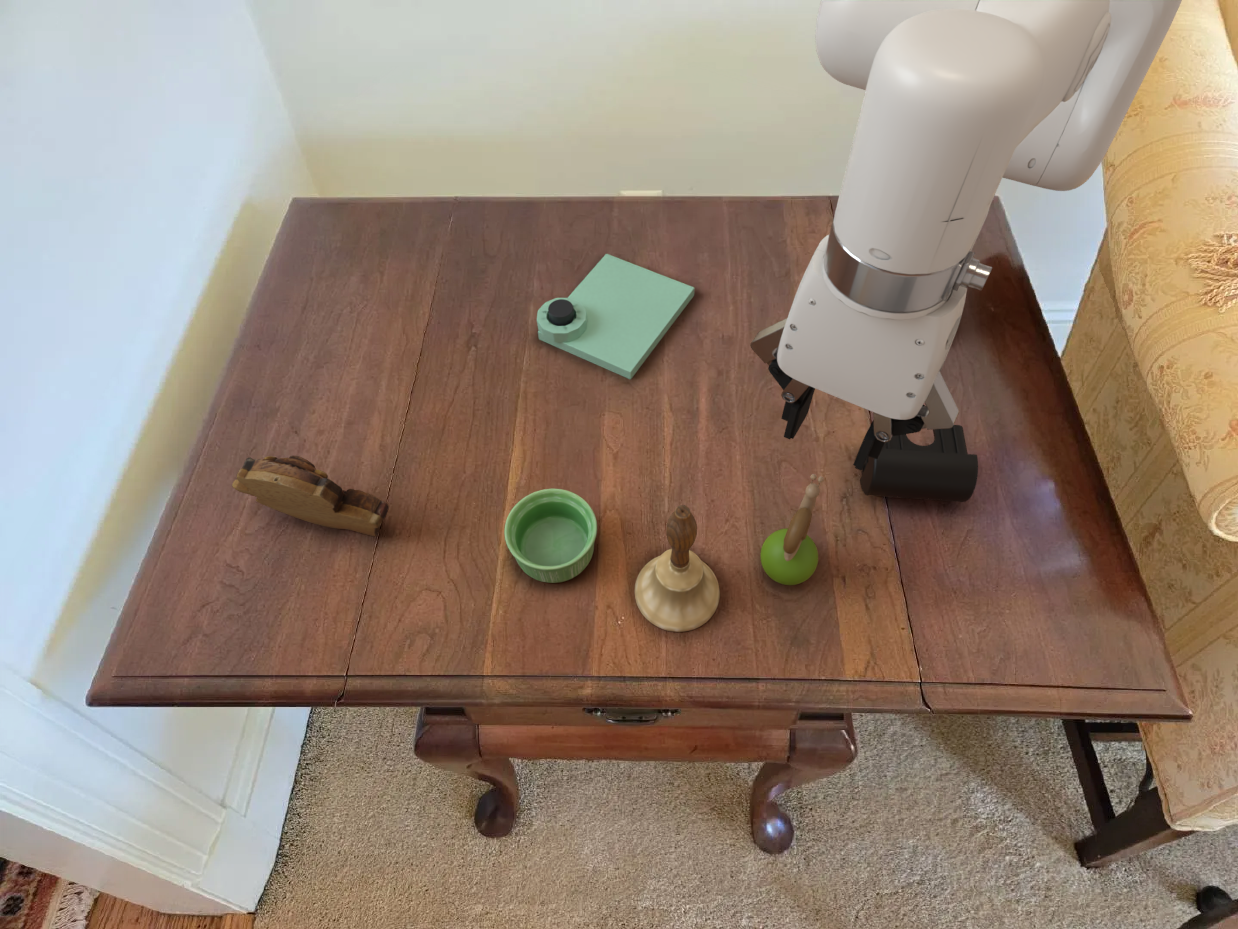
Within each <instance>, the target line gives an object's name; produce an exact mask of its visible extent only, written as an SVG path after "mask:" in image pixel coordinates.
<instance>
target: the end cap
mask: <svg viewBox="0 0 1238 929" xmlns="http://www.w3.org/2000/svg"><path fill="white" fill-rule="evenodd" d="M932 433H933V442H932V443H930V444H927V445H922V444H921V445H919V444H917V443H915V442H913V441H911V439H909V437H908V434H903V435H897V436H892V438H891V440H890V441H889V442H886V443H885V445H884V447H883V449H882V451H881V453H880V455H879V457H878V459H874V458H872V457H870V456H868V458H867V460H866V462H865V464H864V466H863V468H862V470H861V476H860V479H859V483H860V488H861V491H862V493H863V494H864V495H865V496H868V497H869V496H870V497H884V498H897V499H898V498H899V499H910V500H911V499H913V500H927V501H928V500H929V501H942V502H956V503H963V502H964V503H965V502H967V501H969V500H970V499H971V497H972V496H973V494H974V492H975V489H976V486H977V482H978V477H979V459H978V455H977V454H975V453H973V454H971V453H968V449H967V442H966V437H965V432H964V427H963V426H962V425H960V424H954V425H953V427H952V428H948V429H932Z"/></svg>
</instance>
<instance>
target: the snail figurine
mask: <svg viewBox="0 0 1238 929" xmlns="http://www.w3.org/2000/svg"><path fill="white" fill-rule="evenodd" d="M809 478H810V479H811V482H810V483H809V484H808V485H807V486H806V487H805V490H804V495H803V497H802V499H801V501H800V504H799V508H798V510H797V511H796V513H794V514H793V516H792V517H791V519H790V522H789V525H788V527H786V528H781V529H778V530H775V531H774V532H772V533H770V534H769V535H768V536H767V537H766V539H765V540H764V541H763V544H762V546H761V549H760V564H761V566H762V567H761V568H762V569H763V571H764V572H765V573H766V575H767V576H768V577H769V578H770V579H771V580H773V581H774V582H776V583H778V584H781V585H785V586H796V585H799V584H803V583H804V582H806V581H807V580H809V579H810V578H811V577H812V576H813V574H814V573H815V571H816V570H817V567H818V563H819V551H818V548H817V545H816V543H815V542H814V540H813V539H812V538H811V537H810V536H809V535H808V532H809V529H810V526H811V523H812V518H813V512H814V509H815V508H816V503H817V500H818V499H817V498H818V497H819V495H820V494H821V489H820V486H821V485H820V484H821V483H823V482H824V481H825V478H824V477H823V476H818V477H817V474H814V473H812V474H811V475H810V476H809ZM815 480H817V482H818V484H817V483H814V481H815Z"/></svg>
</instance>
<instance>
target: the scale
mask: <svg viewBox="0 0 1238 929" xmlns="http://www.w3.org/2000/svg"><path fill="white" fill-rule="evenodd" d="M694 297H695V287H694V286H692V285H690V284H686V283H683V282H682V281H679V280H676V279H673V278H670V277H669V276H665V275H663V274H661V273H659V272H655V271H652V270H650V269H648V268H646V267H643V266H639V265H637V264H635V263H632V262H629V261H627V260H624V259H622V258H619V257H616V256H613V255H611V254H609V253H605V254H604V256H602V258H601V259H600V260H599V261H598V262H597V263H596V265H595V266H594V267H593V268H592V269H591V270H590V271H589V272H588V274H587V275H586V276H585V277H584V278H583V280H582V281H581V282H580V283H579V284H578V285H577V286H576V287H575V288H574V290H573V291H572V292H571V293H570V294H569V295H568V296H567V297H555V298H553V299H550V300H547V301H545V302H544V303H543V304H542V305H541V306H540V308H538V310H537V312H536V324H537V330H538V331H537V335H538V336H537V337H538V340H539V341H541V342H544V343H546V344H549V345H551V346H553V347H555V348H557V349H560V350H562V351H564V352H567V353H569V354H572V355H574V356H576V357H578V358H580V359H583V360H584V361H588V362H590V363H591V364H594V365H596V366H597V367H601V368H603V369H605V370H607V371H610V372H613V373H614V374H616V375H619V376H621V377H623V378H625V379H628V380H632V379H633V377H634V376H635V375H636V374H637V372H638V371H639V369H640V368H641V366H643V364H644V363H645V362H646V360H647V359H648V357H649V356H650V355H651V353H653V351H654V349H655V348H656V347H657V346H658V344H659V343H660V341H661V340H662V339H663V338H664V337H665V335H666V334H667V333H668V331H669V329H671V326H673V324H674V323H675V321H676V320H677V319H678V317H679V316H680V315H681V314H682V312H683V311H684V310H685V308H686V307H687V305H689V303H690V302H691V300H692V299H693V298H694ZM559 299H564V300H568V301H569V302H571V303H572V305H573V308H574V319H573V321H572V322H571V323H570V324H568V325H566V326H557V325H554V324H553V323H552V322H551V321H550V319H549V312H548V307H549V305H550V304H551V303H552V302H553V301H555V300H559Z"/></svg>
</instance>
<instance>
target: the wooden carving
mask: <svg viewBox="0 0 1238 929" xmlns="http://www.w3.org/2000/svg"><path fill="white" fill-rule="evenodd" d="M231 487H232V488H233V489H234V490H236V491H237V492H239V493H242V494H246V495H249V496H253V497H256V498H255V502H256V503H258V504H260V505H262V506H265V507H267V508H270V509H272V510H275V511H277V512H280V513H283V514H285V515H288V516H291V517H292V518H295V519H299V520H301V521H305V522H308V523H312V524H314V525H317V526H322V527H326V528H330V529H336V530H337V529H338V530H350V531H353V532H356V533H358V534H359V533H360V534H363V535H366V536H371V537H378V534H379V532H380V529H381V525H382V524H383V521H384V520H385V518H386V516H387V513H388V512H389V511H388V510H389V507H390V505H388V503H386V502H385V501H384V500H381V499H380V498H378V497H377V496H375V495H372V493H371V494H370V493H369V492H365V491H363V490H361V489H354V488H348V489H346V490H345V489H343V487H341V486H340V485H338V484H337V483H336V482H335V481H333V480H331V479H329V475H328V474H327V472H325V471H323V470H321V469H317V468H316V465H315V464H314V463H312V462H311V461H309V460H307V459H306V458H304V457H302V456H298V455H290V456H289V457H277V456H274V455H267V456H265V457H264V458H252V457H247V458H246V459H245V460H244V462H243V465H242V467H241V468H239V470H238V471H237V473H236V478H235V479H234V480H233V482H232V484H231Z"/></svg>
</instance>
